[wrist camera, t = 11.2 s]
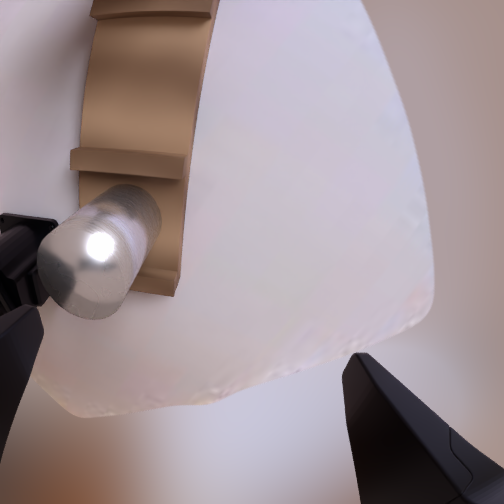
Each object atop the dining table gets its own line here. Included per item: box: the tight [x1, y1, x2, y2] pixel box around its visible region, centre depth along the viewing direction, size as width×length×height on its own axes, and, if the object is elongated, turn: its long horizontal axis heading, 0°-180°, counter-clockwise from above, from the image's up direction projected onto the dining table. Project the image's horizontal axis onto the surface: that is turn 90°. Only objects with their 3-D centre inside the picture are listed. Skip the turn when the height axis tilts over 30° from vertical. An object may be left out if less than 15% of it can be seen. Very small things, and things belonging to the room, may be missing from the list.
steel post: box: [37, 184, 162, 320], centre depth 15 cm, size 5×5×7 cm
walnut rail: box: [70, 0, 220, 297], centre depth 14 cm, size 26×7×3 cm, turn 170°
